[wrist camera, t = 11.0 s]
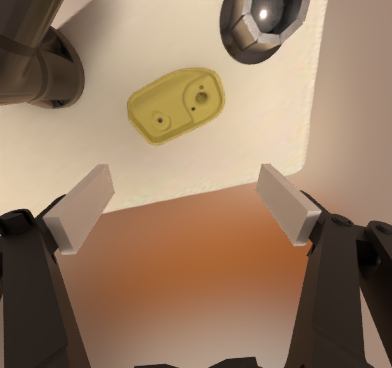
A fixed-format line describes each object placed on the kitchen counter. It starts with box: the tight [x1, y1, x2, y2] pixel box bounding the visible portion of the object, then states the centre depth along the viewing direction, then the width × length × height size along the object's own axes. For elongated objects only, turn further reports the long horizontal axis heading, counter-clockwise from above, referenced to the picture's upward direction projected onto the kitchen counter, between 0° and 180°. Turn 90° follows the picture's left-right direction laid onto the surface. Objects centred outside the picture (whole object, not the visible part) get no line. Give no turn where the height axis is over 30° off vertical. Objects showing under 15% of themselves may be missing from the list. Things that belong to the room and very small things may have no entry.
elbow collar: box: [229, 0, 310, 53], centre depth 30 cm, size 10×10×9 cm
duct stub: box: [220, 0, 283, 64], centre depth 32 cm, size 14×14×6 cm
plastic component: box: [127, 68, 225, 145], centre depth 39 cm, size 20×7×10 cm
